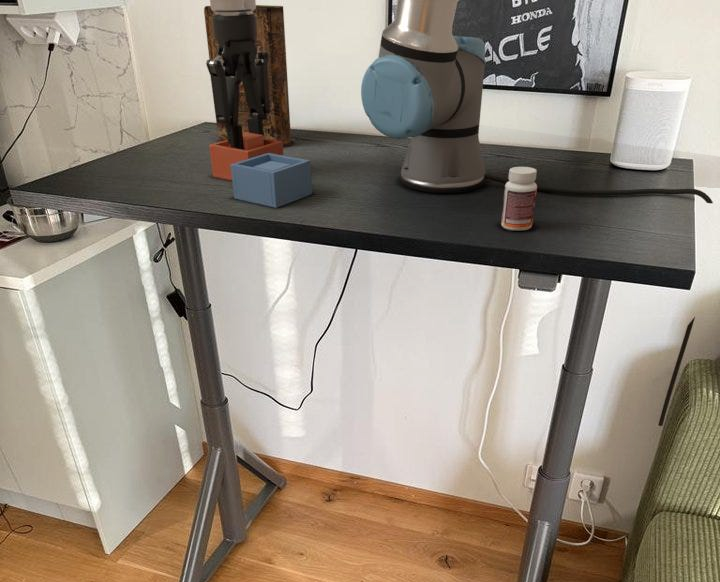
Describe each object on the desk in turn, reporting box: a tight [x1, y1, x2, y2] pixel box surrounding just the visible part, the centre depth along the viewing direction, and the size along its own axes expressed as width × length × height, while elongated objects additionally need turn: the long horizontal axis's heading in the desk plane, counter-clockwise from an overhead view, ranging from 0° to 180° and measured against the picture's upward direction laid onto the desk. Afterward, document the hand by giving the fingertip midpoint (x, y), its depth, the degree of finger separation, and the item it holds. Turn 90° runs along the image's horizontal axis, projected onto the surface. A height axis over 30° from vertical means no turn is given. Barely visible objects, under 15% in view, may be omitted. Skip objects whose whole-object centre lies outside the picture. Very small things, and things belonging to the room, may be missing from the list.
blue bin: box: [231, 153, 313, 209], centre depth 125 cm, size 10×10×6 cm
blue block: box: [254, 161, 290, 171], centre depth 125 cm, size 4×4×4 cm
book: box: [203, 4, 292, 148], centre depth 152 cm, size 16×6×25 cm, turn 63°
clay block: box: [243, 132, 264, 151], centre depth 135 cm, size 4×4×4 cm
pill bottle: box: [500, 166, 538, 232], centre depth 110 cm, size 5×5×8 cm
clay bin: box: [208, 138, 285, 182], centre depth 136 cm, size 10×10×6 cm
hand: (248, 160), depth 136 cm, fingers closed on clay block, 4 cm apart
